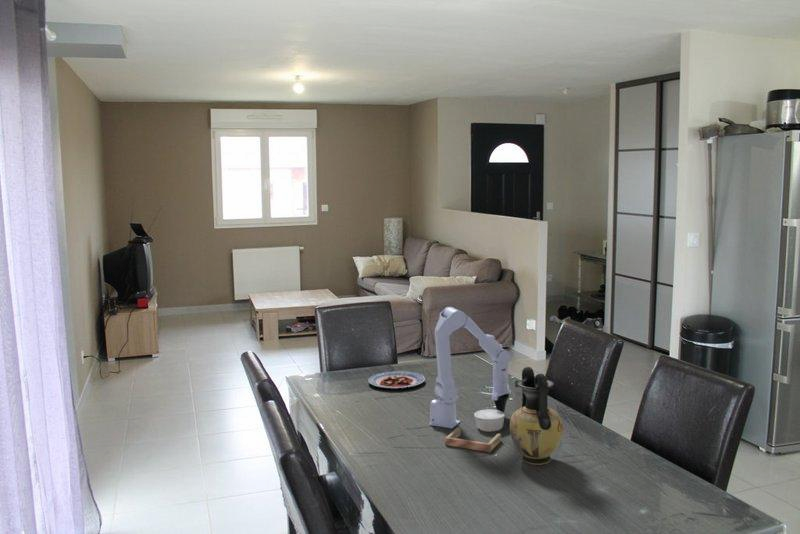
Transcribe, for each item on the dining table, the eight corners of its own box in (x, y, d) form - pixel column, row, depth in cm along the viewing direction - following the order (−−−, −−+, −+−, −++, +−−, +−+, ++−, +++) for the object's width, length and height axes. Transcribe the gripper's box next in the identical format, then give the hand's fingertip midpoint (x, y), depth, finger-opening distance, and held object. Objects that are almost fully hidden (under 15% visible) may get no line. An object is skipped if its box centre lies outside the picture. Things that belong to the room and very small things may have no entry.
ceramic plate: (425, 391, 303) (425, 385, 303) (366, 392, 303) (366, 386, 303) (424, 375, 328) (424, 369, 328) (370, 376, 329) (369, 370, 329)
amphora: (499, 454, 231) (498, 367, 227) (542, 445, 238) (542, 360, 234) (529, 474, 215) (529, 380, 211) (574, 464, 222) (574, 373, 218)
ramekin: (468, 428, 257) (468, 414, 256) (486, 420, 265) (485, 407, 264) (493, 435, 249) (493, 421, 248) (510, 426, 257) (510, 413, 256)
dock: (445, 444, 241) (445, 437, 241) (457, 434, 251) (457, 427, 251) (490, 452, 233) (489, 445, 233) (500, 440, 243) (500, 433, 243)
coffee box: (532, 430, 253) (532, 387, 251) (514, 429, 254) (514, 386, 252) (533, 421, 262) (532, 380, 260) (515, 420, 263) (515, 379, 261)
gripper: (504, 385, 258) (504, 420, 260) (516, 375, 271) (516, 408, 272) (486, 383, 261) (486, 417, 263) (499, 373, 274) (499, 406, 276)
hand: (500, 413), depth 268 cm, fingers closed
